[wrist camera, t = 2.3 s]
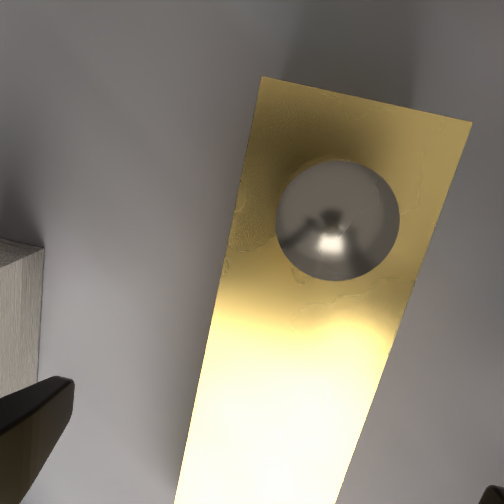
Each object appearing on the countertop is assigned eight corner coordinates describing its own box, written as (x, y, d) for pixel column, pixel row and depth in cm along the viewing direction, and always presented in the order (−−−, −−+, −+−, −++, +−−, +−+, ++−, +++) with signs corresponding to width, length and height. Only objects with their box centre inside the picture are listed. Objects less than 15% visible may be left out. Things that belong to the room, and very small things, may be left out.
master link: (406, 127, 10) (490, 121, 6) (280, 525, 14) (274, 695, 10) (273, 97, 10) (258, 70, 6) (187, 500, 15) (140, 658, 10)
